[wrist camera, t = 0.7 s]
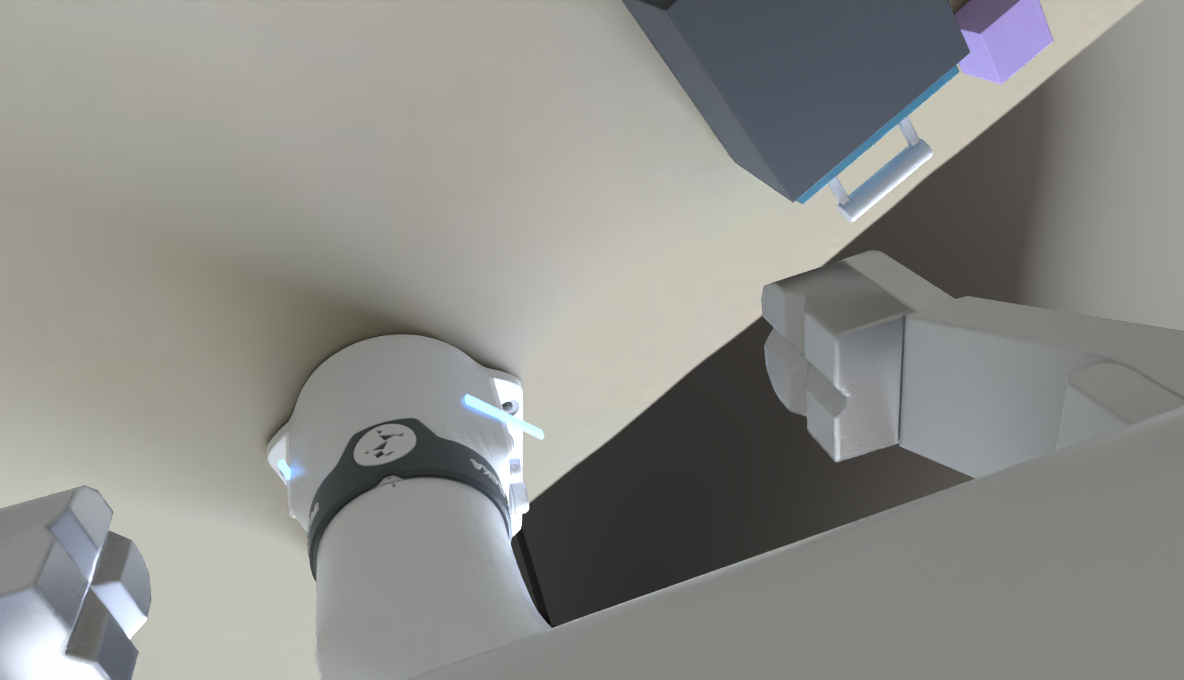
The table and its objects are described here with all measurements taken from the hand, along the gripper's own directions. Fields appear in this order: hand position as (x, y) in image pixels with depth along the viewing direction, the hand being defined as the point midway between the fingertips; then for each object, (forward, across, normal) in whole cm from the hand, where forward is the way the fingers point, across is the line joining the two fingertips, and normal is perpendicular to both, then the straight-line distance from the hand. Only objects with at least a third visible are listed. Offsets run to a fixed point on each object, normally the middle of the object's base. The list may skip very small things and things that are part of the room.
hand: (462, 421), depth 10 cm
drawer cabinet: (+43, +25, -5) cm, 49 cm away
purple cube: (+43, +41, -10) cm, 60 cm away
